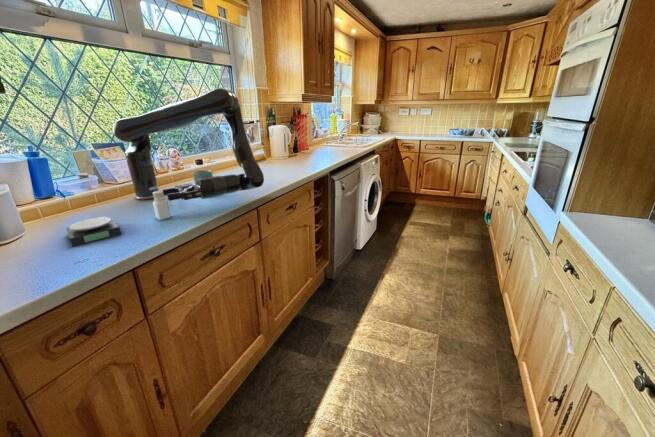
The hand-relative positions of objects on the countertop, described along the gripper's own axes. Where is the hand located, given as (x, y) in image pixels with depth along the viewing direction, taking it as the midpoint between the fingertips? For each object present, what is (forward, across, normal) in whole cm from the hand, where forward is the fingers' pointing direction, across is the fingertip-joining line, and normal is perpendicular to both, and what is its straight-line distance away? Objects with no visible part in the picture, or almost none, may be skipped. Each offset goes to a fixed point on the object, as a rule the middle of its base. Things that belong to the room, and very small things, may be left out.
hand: (165, 195), depth 105 cm
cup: (-20, -23, +8) cm, 32 cm away
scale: (+22, +2, +8) cm, 24 cm away
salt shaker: (+2, 0, +8) cm, 8 cm away
